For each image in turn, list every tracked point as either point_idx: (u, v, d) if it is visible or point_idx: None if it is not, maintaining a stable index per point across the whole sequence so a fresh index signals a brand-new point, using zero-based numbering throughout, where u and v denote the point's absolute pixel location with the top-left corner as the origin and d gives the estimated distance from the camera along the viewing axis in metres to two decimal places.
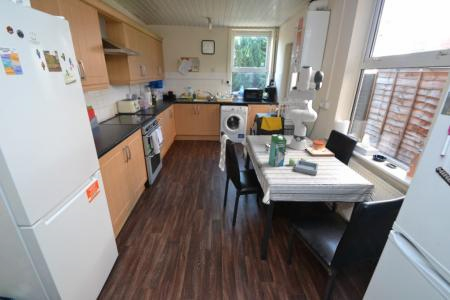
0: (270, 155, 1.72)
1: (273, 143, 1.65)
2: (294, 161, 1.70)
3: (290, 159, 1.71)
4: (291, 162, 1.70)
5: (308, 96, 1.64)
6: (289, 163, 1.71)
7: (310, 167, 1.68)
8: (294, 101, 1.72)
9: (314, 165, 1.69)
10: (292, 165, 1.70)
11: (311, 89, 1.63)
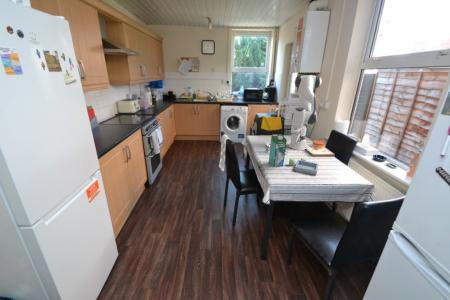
0: (270, 155, 1.72)
1: (273, 143, 1.65)
2: (294, 161, 1.70)
3: (290, 159, 1.71)
4: (291, 162, 1.70)
5: (299, 135, 1.67)
6: (289, 163, 1.71)
7: (310, 167, 1.68)
8: None
9: (314, 165, 1.69)
10: (292, 165, 1.70)
11: None
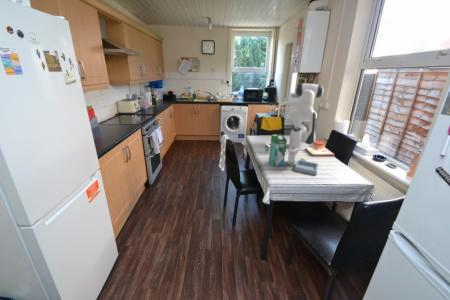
0: (270, 155, 1.72)
1: (273, 143, 1.65)
2: (294, 161, 1.70)
3: None
4: None
5: (296, 153, 1.73)
6: (289, 163, 1.71)
7: (310, 167, 1.68)
8: (290, 161, 1.69)
9: (314, 165, 1.69)
10: (292, 165, 1.70)
11: None
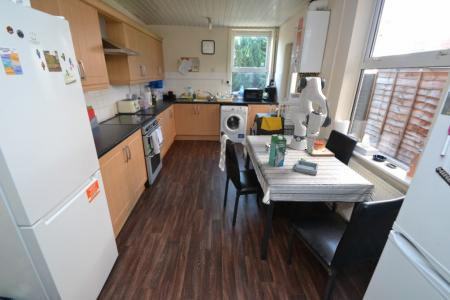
0: (270, 155, 1.72)
1: (273, 143, 1.65)
2: None
3: None
4: None
5: None
6: (307, 150, 1.59)
7: (310, 167, 1.68)
8: (309, 148, 1.57)
9: (314, 165, 1.69)
10: (310, 152, 1.58)
11: None
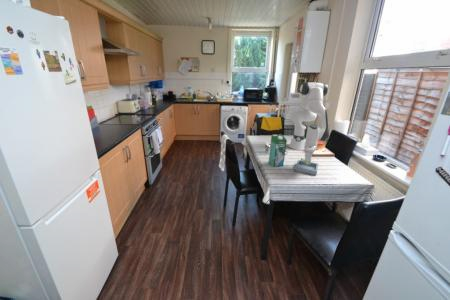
0: (270, 155, 1.72)
1: (273, 143, 1.65)
2: (310, 160, 1.61)
3: None
4: None
5: None
6: (305, 162, 1.63)
7: (310, 167, 1.68)
8: (306, 161, 1.60)
9: (314, 165, 1.69)
10: (308, 164, 1.62)
11: None
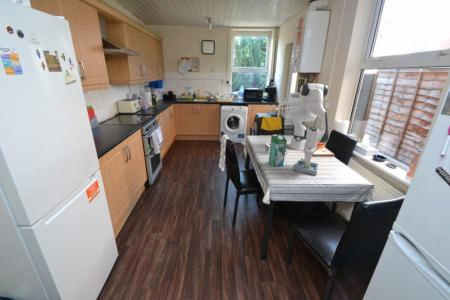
0: (270, 155, 1.72)
1: (273, 143, 1.65)
2: (309, 164, 1.63)
3: None
4: None
5: None
6: (304, 166, 1.65)
7: (310, 167, 1.68)
8: (306, 163, 1.60)
9: (314, 165, 1.69)
10: (307, 168, 1.64)
11: None
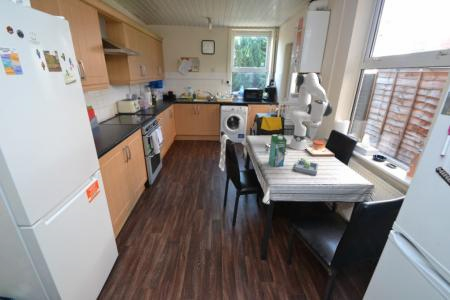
0: (270, 155, 1.72)
1: (273, 143, 1.65)
2: (309, 164, 1.63)
3: (305, 162, 1.64)
4: (306, 165, 1.63)
5: None
6: (304, 166, 1.65)
7: (310, 167, 1.68)
8: None
9: (314, 165, 1.69)
10: (307, 168, 1.64)
11: None
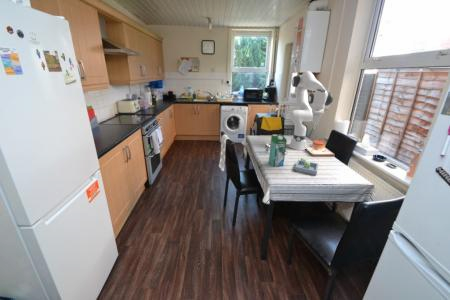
0: (270, 155, 1.72)
1: (273, 143, 1.65)
2: (309, 164, 1.63)
3: (305, 162, 1.65)
4: (306, 165, 1.63)
5: None
6: (304, 166, 1.65)
7: (310, 167, 1.68)
8: None
9: (314, 165, 1.69)
10: (307, 168, 1.64)
11: None
